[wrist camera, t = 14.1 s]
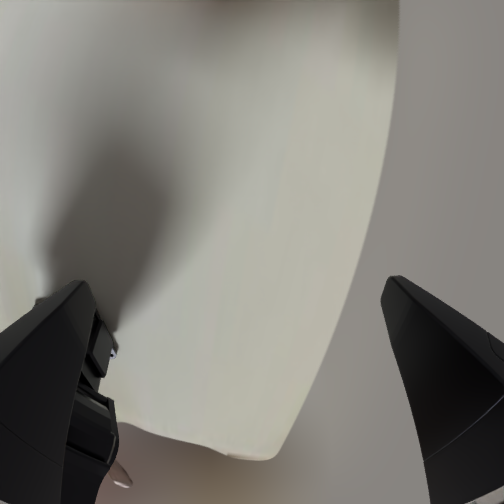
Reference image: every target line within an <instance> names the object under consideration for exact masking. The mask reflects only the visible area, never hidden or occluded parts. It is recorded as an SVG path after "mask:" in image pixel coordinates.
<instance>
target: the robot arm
mask: <svg viewBox="0 0 504 504" xmlns="http://www.w3.org/2000/svg"><path fill="white" fill-rule="evenodd" d="M381 307H382V310H383V314H384V318H385V322H386V325H387V330H388V334H389V338H390V342H391V346H392V349H393V352H394V355H395V358H396V361H397V364H398V367H399V371H400V374H401V377H402V380H403V383H404V387H405V390H406V393H407V397H408V400H409V404H410V407H411V411H412V415H413V419H414V422H415V426H416V430H417V435H418V438H419V443H420V447H421V452H422V457H423V460H424V467H425V473H426V478H427V484H428V489H429V496H430V503H431V504H465V503H468V502H470V501H473V500H475V501H474V502H472V503H471V504H504V343H503V342H501V341H500V340H498V339H497V338H495V337H494V336H493V335H491V334H490V333H489V332H486V330H484V329H483V328H481V327H480V326H478V325H477V324H476V323H474V322H473V321H471V320H470V319H468V318H467V317H465V316H464V315H462V314H461V313H459V312H458V311H456V310H455V309H453V308H452V307H450V306H449V305H447V304H446V303H444V302H442V301H441V300H439V299H438V298H436V297H435V296H433V295H432V294H430V293H429V292H427V291H425V290H424V289H422V288H421V287H419V286H417V285H416V284H414V283H413V282H411V281H409V280H408V279H406V278H405V277H403V276H400V275H398V276H390V277H389V278H388V279H387V281H386V284H385V287H384V290H383V293H382V296H381ZM111 353H112V354H111ZM116 355H117V352H116V350H115V348H114V346H113V341H112V339H111V337H110V334H109V332H108V330H107V328H106V326H105V324H104V322H103V321H102V320H101V319H100V316H99V314H98V312H97V310H96V304H95V300H94V297H93V295H92V292H91V290H90V287H89V285H88V283H87V282H86V281H84V280H75V281H73V282H71V283H70V284H68V285H67V286H65V287H64V288H62V289H61V290H59V291H58V292H56V293H55V294H53V295H52V296H50V297H49V298H47V299H46V300H45V301H43V302H42V303H40V304H36V305H34V307H33V309H32V310H31V311H29V312H28V313H26V314H25V315H24V316H22V317H21V318H20V319H18V320H17V321H16V322H14V323H13V324H12V325H10V326H9V327H8V328H6V329H5V330H4V331H2V332H1V333H0V504H95V500H96V496H97V493H98V490H99V487H100V484H101V482H102V480H103V478H104V476H105V475H106V474H107V472H108V471H109V470H110V467H111V465H112V464H113V462H114V460H115V458H116V455H117V452H118V447H119V435H118V428H117V422H116V414H115V406H114V400H112V399H110V398H109V397H105V396H103V395H101V394H100V393H98V389H99V385H100V380H101V378H105V376H106V373H107V368H108V364H109V360H110V359H115V358H116Z"/></svg>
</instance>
